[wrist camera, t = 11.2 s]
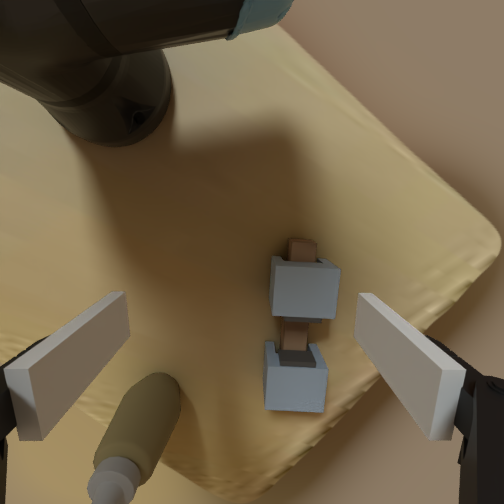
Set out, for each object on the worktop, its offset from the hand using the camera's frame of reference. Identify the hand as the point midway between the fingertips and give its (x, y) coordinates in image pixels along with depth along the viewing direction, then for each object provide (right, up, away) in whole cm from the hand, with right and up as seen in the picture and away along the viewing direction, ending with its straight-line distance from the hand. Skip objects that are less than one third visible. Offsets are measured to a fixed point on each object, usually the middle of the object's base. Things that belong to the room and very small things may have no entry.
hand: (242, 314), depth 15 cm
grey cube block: (+7, 0, +21) cm, 22 cm away
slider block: (+6, -13, +23) cm, 27 cm away
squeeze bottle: (-13, -17, +25) cm, 33 cm away
